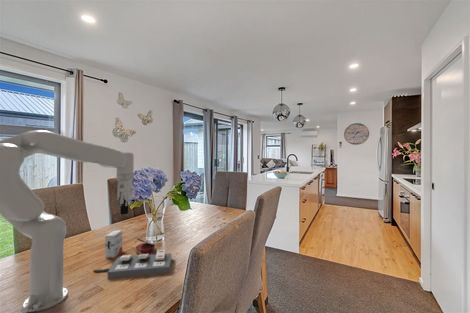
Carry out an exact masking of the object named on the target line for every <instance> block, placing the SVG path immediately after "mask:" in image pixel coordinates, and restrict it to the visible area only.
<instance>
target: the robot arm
mask: <svg viewBox="0 0 470 313" xmlns="http://www.w3.org/2000/svg"><path fill="white" fill-rule="evenodd" d="M35 154H43V155H47V156H51V157H55V158H61V159H66V160H70V161H73V162H80V163H92V164H97V165H99V166H101V167H103V168H108V169H109V168H112V169H116V176H115V178H116V181H117V194H116V196H117V197H116V198H117V201H118V202H119V204H120V215H127V214H128V213H129V202H130V200H131V199H132V198H133V197H134V195H133V194H134V193H133V191H134V190H133V180H134V168H135V167H134V161H135V160H134V159H135V158H134V153H133V152H124V151H119V150H116V149H114V148H110V147H106V146H103V145H98V144H95V143H91V142H86V141H83V140H80V139H76V138H73V137H69V136H66V135H63V134H60V133H57V132H52V131H49V130H44V129H39V130H29V131H26V132H23V133H19V134H17V135H14V136H10V137H7V138H4V139H1V140H0V216H1V217H2V218H3V219H4V220H6V221H7V222H8V223H9V224H10V226H12V227H14V228H15V229H16V230H17V231H18V232H19V233H21V234H22V235H24V236H25V237H27V238H30V239H31V241H32V243H31V247H30V252H29V262H28V263H29V271H28V272H29V278H28V279H29V280H28V281H29V282H28V284H29V285H28V287H29V288H28V297H27V299H25V300H24V302H23V303H22V308H21V310H20V312H21V313H28V312H29V313H35V311H36V312H40V311H44V310H48V309H50V308H52V307H54V306H57V305H59V304H60V303H61V302H63V301H64V300H65V299H66V298H67V297H68V293H69V290H68V288H66V287H64V245H65V237H66V233H67V224H66V223H67V222H65V220H64V219H63V218H62V217H60V216H58V215H55V214H52V213H47V212H46V211H45V204H44V201H43V200H42V198H40V196H38V195H37V194H36V193H35V191H33V190H32V189H31V187H29V185H27V183H26V182H25V180H23V179H22V177H21V175H20V169H21V167H22V165H23V163H24V161H25V159H26V158H28V157H30V156H33V155H35Z"/></svg>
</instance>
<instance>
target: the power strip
mask: <svg viewBox="0 0 470 313" xmlns="http://www.w3.org/2000/svg"><path fill="white" fill-rule="evenodd" d="M138 256H139V255H132V257H131V258H130V259H129V260H124V261H119V259H120V257H121V256H118V257H117V258H116V259H115V261H114V262H113V264H112V265H111V267H109V268H100V269H93V273H102V272H107V280H109V279H111V280H112V279H119V278H120V279H122V278H133V277H143V276H154V275H164V274H165V275H166V274H170V271H171V264H172V253H171V252H170V253H165V257H164V260H155V258H156V254H149V256H148V257H147V258H144V259H138Z"/></svg>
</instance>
